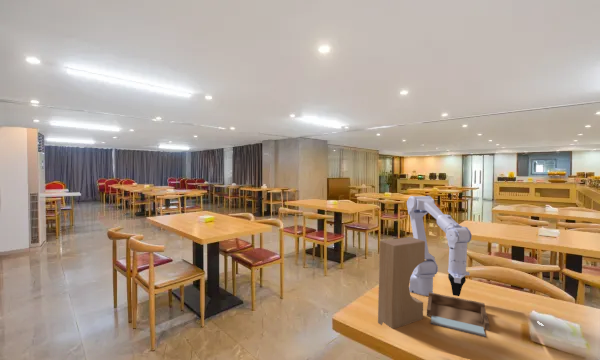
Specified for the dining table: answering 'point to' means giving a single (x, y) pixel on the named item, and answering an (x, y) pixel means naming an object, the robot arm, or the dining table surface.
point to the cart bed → (457, 310)
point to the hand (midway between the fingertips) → (456, 295)
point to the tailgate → (458, 326)
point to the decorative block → (399, 281)
